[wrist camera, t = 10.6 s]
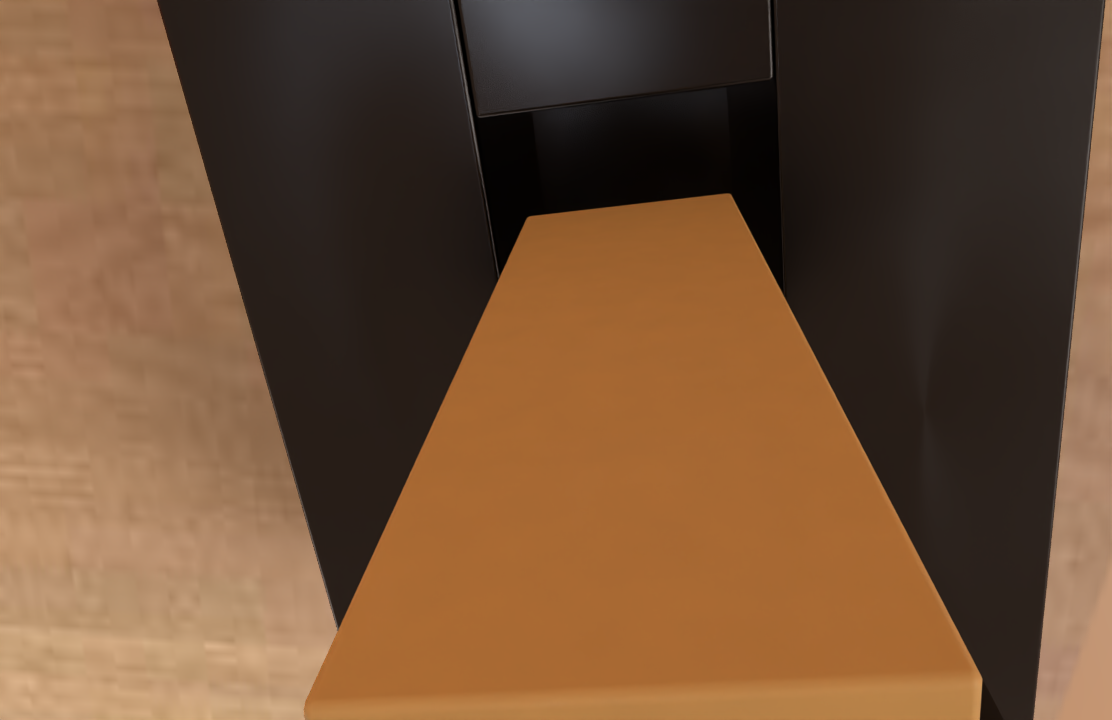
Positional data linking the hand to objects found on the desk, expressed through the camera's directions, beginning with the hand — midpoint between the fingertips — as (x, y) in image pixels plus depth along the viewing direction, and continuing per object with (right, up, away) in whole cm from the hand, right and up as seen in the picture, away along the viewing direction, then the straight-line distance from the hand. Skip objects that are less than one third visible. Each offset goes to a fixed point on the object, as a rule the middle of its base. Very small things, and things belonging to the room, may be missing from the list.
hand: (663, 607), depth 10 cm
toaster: (+1, +5, +11) cm, 12 cm away
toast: (0, +1, +2) cm, 3 cm away
